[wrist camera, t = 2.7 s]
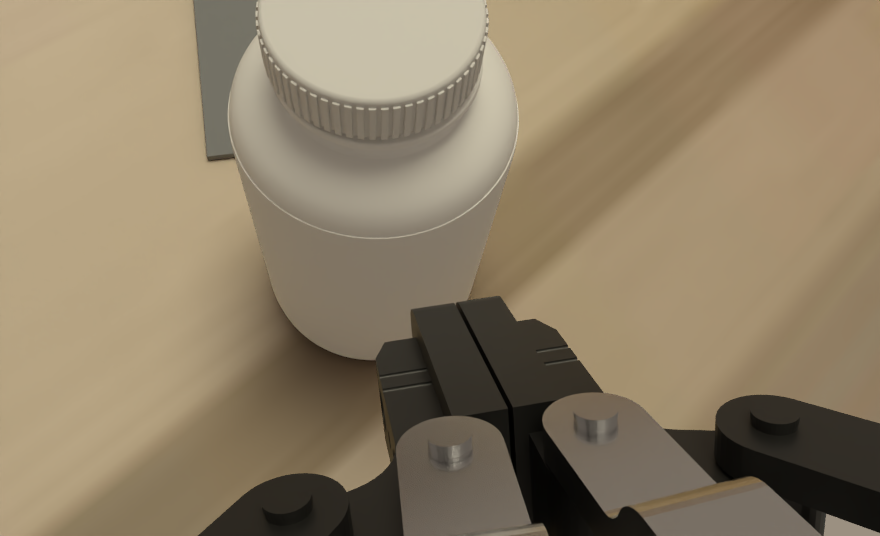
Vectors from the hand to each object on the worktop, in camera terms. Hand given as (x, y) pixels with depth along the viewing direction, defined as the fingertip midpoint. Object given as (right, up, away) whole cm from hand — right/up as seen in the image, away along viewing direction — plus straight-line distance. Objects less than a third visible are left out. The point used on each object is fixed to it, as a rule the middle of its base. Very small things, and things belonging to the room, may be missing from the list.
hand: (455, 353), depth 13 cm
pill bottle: (-3, +1, +18) cm, 19 cm away
